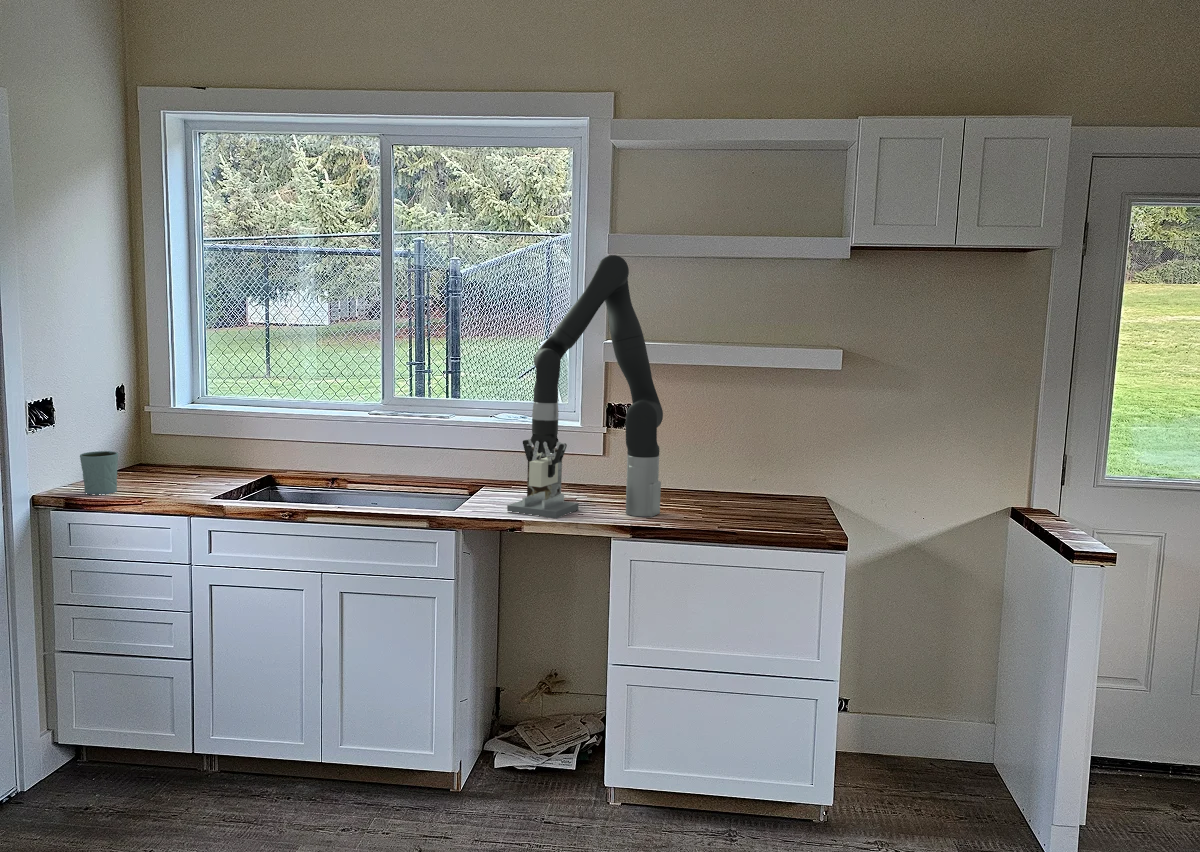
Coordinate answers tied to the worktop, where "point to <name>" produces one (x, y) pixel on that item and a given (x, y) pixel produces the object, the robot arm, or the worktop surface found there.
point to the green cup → (99, 472)
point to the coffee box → (549, 489)
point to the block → (541, 473)
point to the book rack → (543, 505)
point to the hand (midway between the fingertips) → (543, 476)
